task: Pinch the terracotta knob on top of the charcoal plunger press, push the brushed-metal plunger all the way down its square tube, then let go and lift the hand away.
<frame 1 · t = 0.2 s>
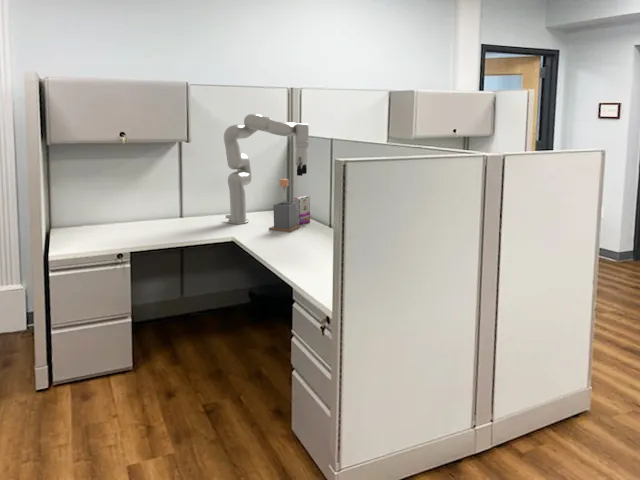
hand: (301, 174, 350), 32 cm above the table, fingers open, 9 cm apart
press housing: (285, 229, 354), on the table
candy bar box: (301, 223, 371), on the table
plunger: (284, 195, 349), point 20 cm above the table, slide at 0.0 cm
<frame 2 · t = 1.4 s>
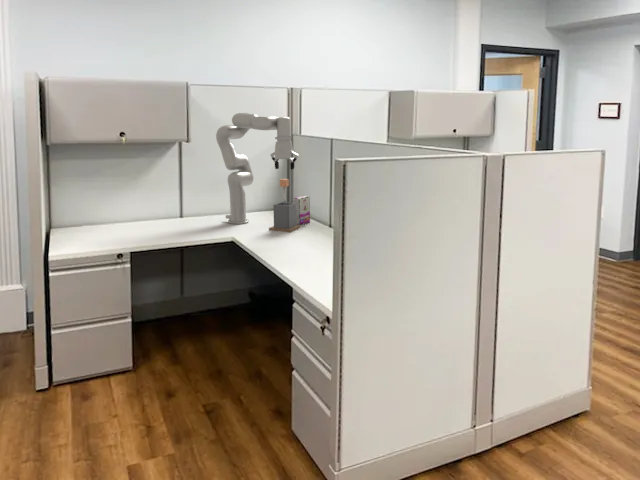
hand: (284, 169, 346), 35 cm above the table, fingers open, 9 cm apart
nothing on the table moved.
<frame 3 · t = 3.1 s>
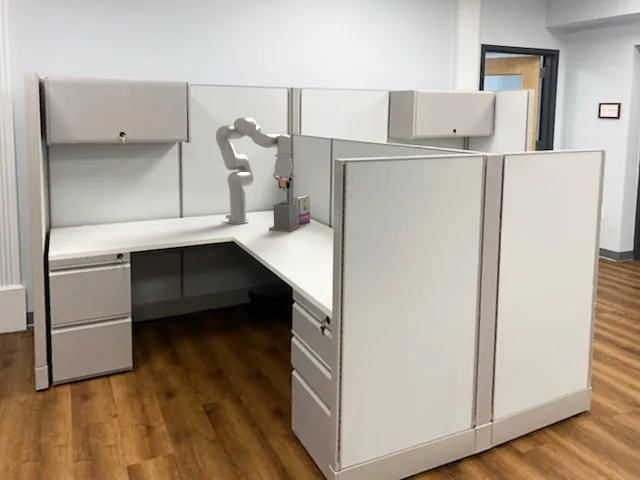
hand: (284, 188, 348), 24 cm above the table, fingers closed on plunger, 4 cm apart
plunger: (284, 195, 349), point 20 cm above the table, slide at 0.0 cm, touching gripper
everything else where it was.
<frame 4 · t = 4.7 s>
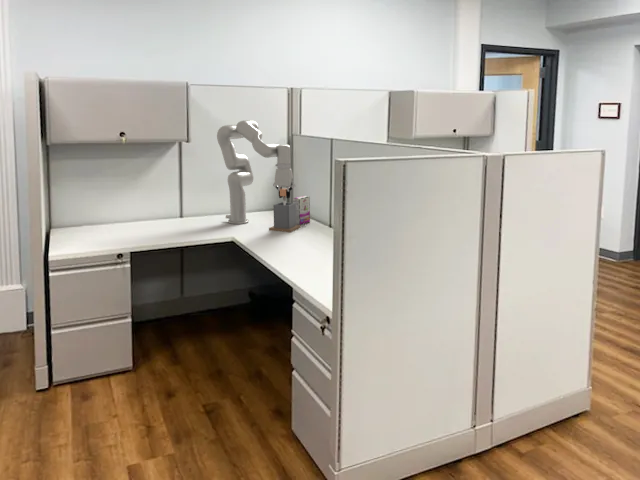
hand: (284, 197, 350), 19 cm above the table, fingers closed on plunger, 4 cm apart
plunger: (284, 205, 351), point 14 cm above the table, slide at 5.6 cm, touching gripper
everything else where it was.
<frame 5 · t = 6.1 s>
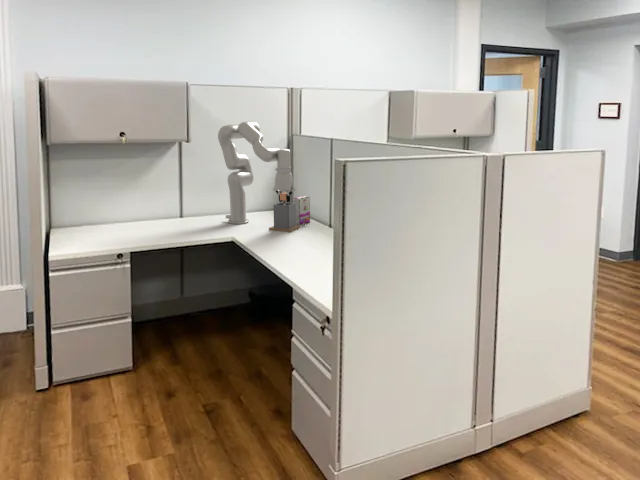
hand: (284, 201, 350), 16 cm above the table, fingers closed on plunger, 4 cm apart
plunger: (284, 209, 351), point 12 cm above the table, slide at 8.1 cm, touching gripper
everything else where it was.
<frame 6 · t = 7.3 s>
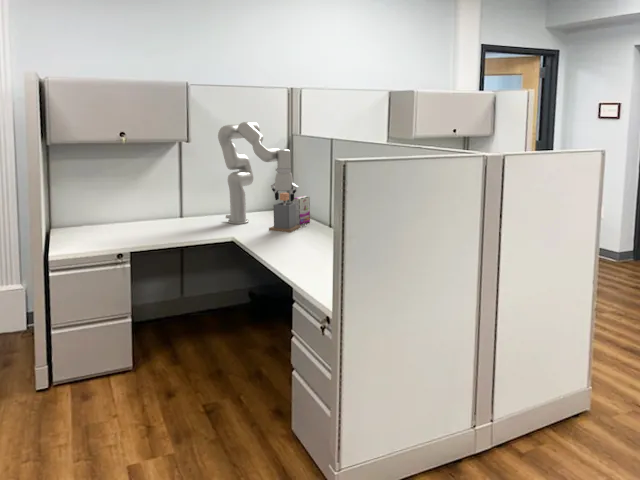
hand: (284, 200, 350), 17 cm above the table, fingers open, 9 cm apart
plunger: (284, 209, 351), point 12 cm above the table, slide at 8.1 cm
everything else where it was.
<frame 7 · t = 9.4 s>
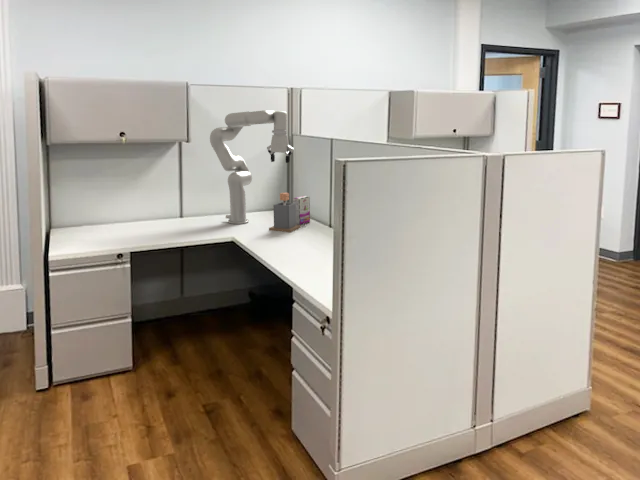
hand: (280, 162, 353), 39 cm above the table, fingers open, 9 cm apart
nothing on the table moved.
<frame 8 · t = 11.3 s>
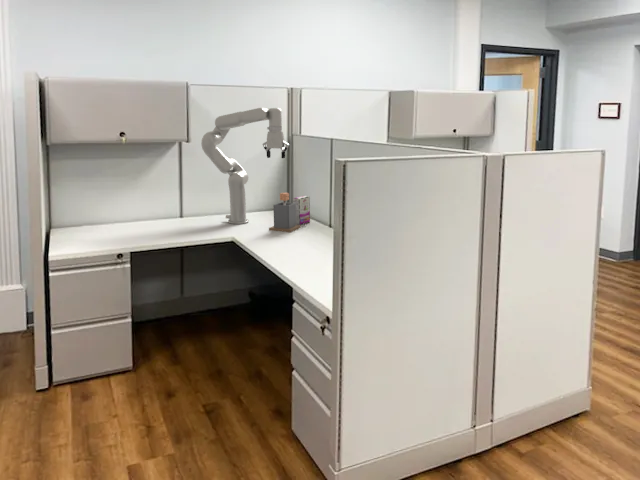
hand: (275, 157, 362), 40 cm above the table, fingers open, 9 cm apart
nothing on the table moved.
at the end: plunger slide at 8.1 cm; the gripper is holding nothing; candy bar box moved 0.2 cm from its start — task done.
